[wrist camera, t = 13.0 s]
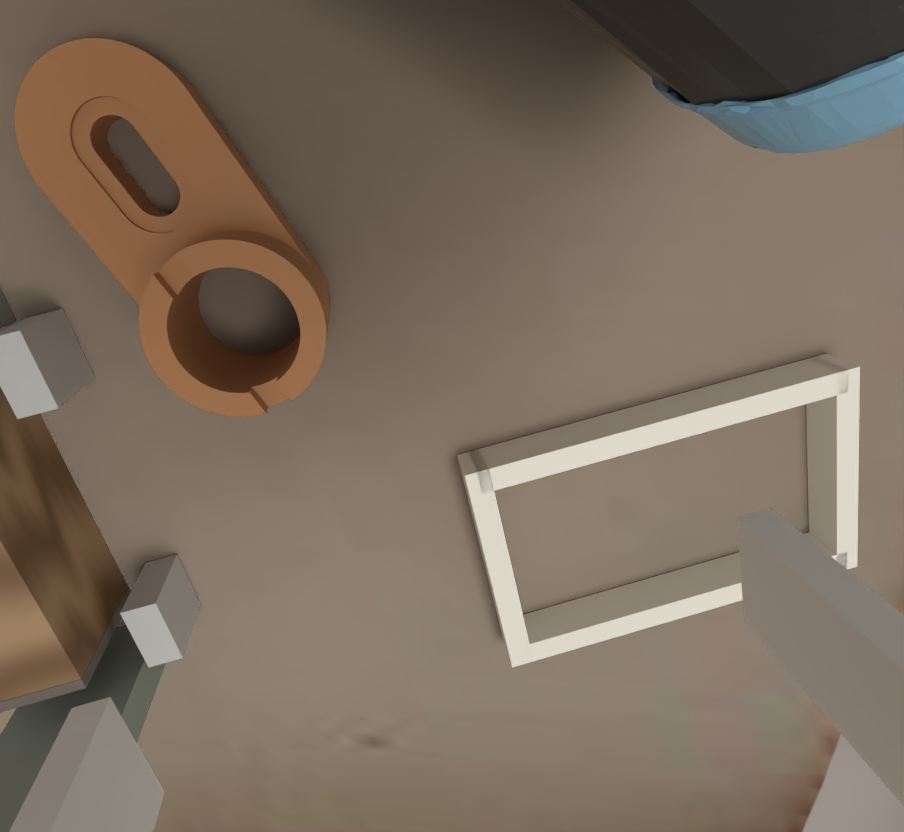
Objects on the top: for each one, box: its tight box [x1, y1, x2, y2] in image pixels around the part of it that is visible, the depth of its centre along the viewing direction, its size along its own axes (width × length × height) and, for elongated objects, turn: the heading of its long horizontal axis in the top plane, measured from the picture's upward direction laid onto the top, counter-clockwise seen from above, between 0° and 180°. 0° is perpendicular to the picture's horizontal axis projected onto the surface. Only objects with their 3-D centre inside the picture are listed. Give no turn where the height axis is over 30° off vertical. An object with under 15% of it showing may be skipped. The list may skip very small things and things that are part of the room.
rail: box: [0, 387, 131, 712], centre depth 35 cm, size 16×4×8 cm, turn 13°
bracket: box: [14, 38, 330, 417], centre depth 32 cm, size 18×8×7 cm, turn 32°
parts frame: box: [457, 354, 860, 667], centre depth 44 cm, size 15×25×3 cm, turn 103°
